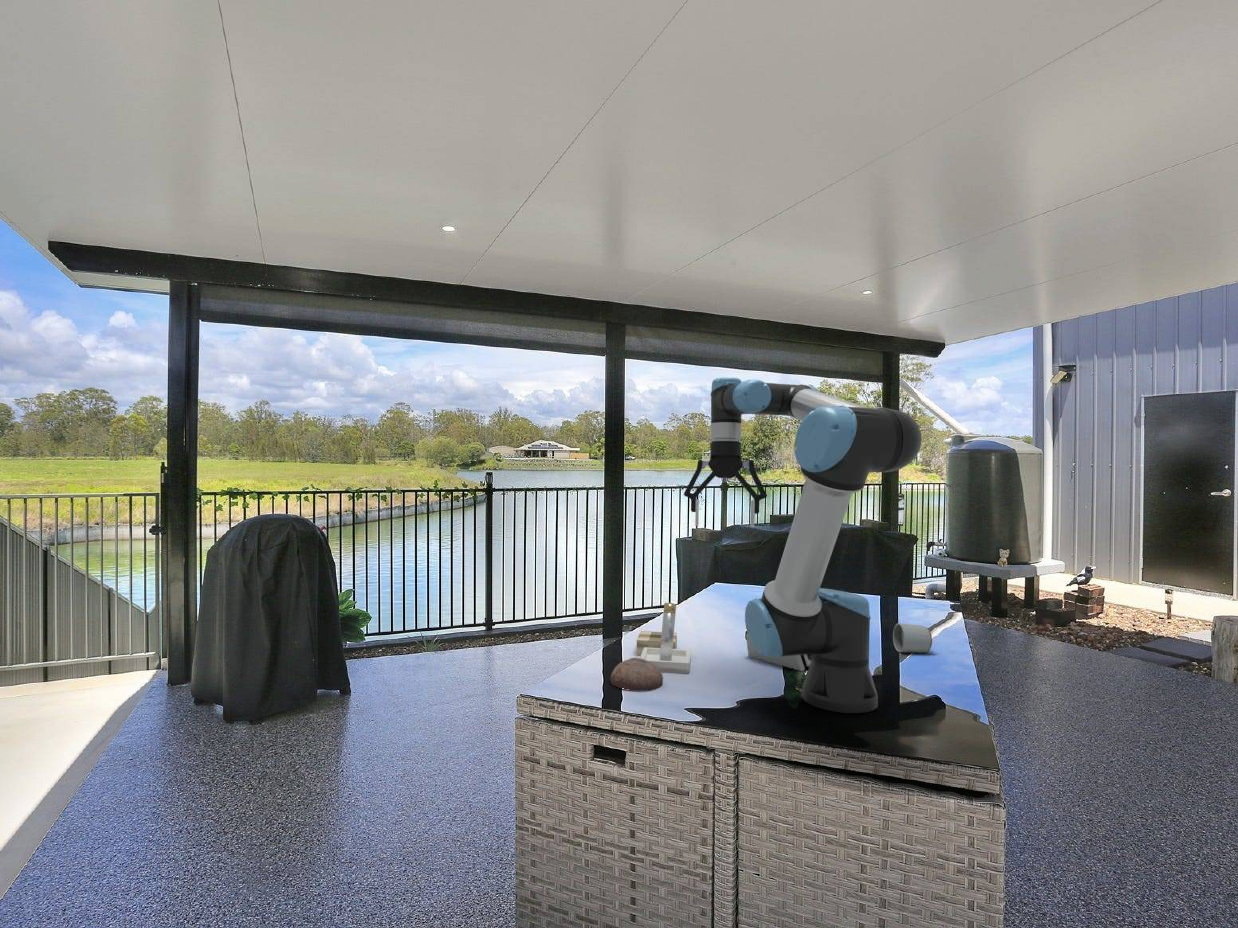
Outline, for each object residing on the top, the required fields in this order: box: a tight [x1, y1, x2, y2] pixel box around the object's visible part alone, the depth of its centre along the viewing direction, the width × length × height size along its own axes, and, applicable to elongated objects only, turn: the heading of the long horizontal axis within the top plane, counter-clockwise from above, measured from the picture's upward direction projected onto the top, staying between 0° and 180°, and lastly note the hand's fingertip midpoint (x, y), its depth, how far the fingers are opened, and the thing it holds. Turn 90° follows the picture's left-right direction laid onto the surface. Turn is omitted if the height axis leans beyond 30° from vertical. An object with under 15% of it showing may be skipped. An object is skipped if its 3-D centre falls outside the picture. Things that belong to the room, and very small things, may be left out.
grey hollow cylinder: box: [892, 622, 933, 654], centre depth 181 cm, size 11×8×8 cm
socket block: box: [636, 630, 678, 657], centre depth 175 cm, size 10×10×4 cm
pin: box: [659, 602, 677, 661], centre depth 163 cm, size 3×3×14 cm
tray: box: [639, 647, 691, 675], centre depth 163 cm, size 12×12×2 cm
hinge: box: [745, 633, 811, 672], centre depth 167 cm, size 17×5×10 cm, turn 40°
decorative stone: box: [609, 657, 664, 691], centre depth 149 cm, size 12×12×6 cm
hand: (724, 526), depth 162 cm, fingers open, 13 cm apart
